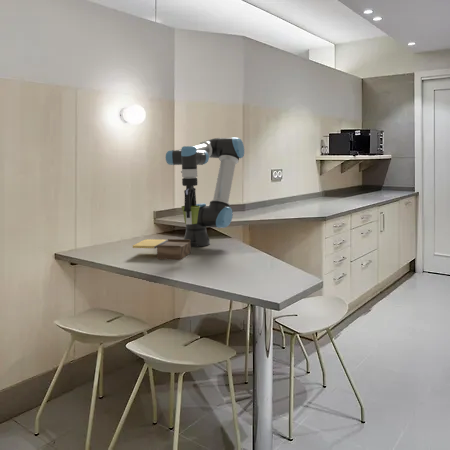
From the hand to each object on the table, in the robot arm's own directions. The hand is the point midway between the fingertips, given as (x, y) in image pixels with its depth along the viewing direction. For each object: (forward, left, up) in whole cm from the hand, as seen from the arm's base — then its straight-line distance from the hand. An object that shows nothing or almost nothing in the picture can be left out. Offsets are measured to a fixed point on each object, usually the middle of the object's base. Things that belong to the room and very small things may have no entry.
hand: (191, 222), depth 251 cm
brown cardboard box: (+6, -6, -17) cm, 19 cm away
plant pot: (0, 0, -1) cm, 1 cm away
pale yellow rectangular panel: (+11, -11, -11) cm, 19 cm away
